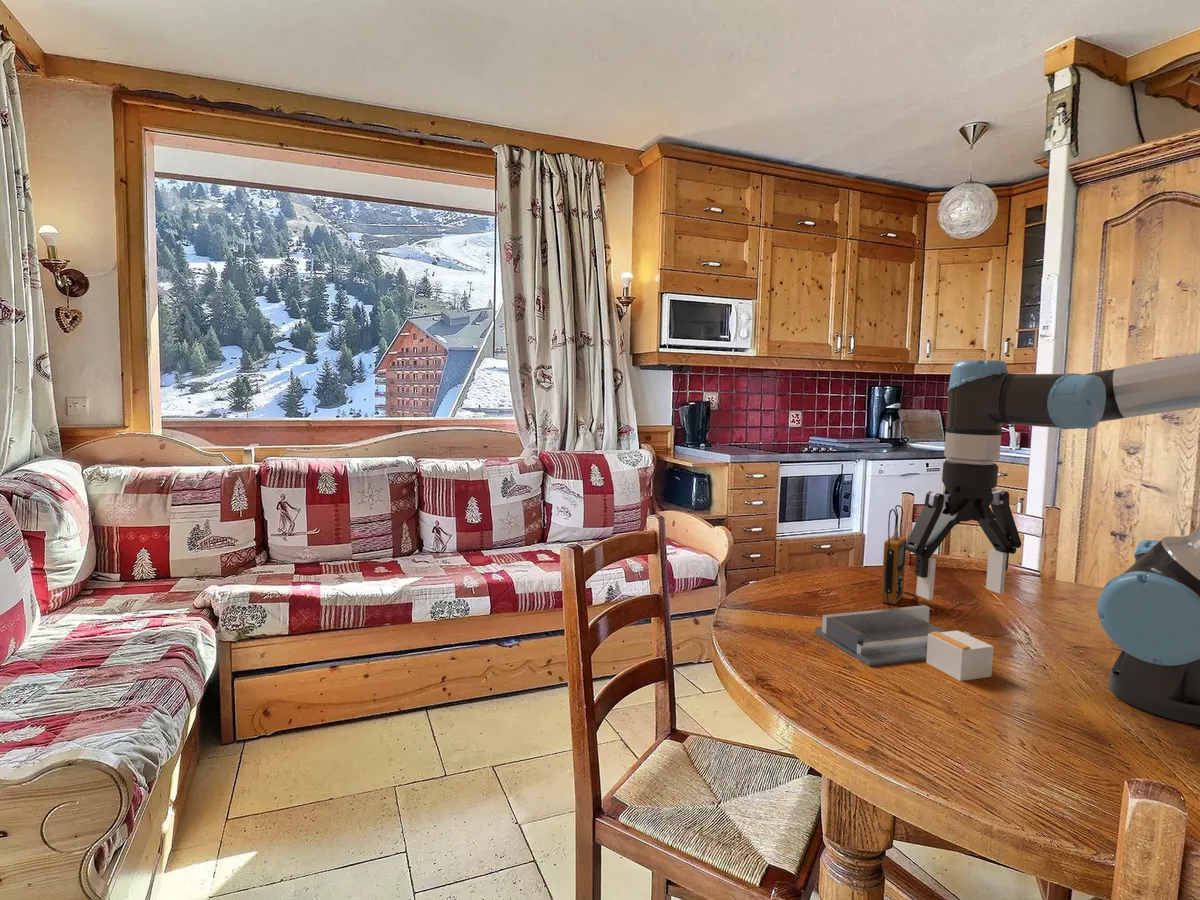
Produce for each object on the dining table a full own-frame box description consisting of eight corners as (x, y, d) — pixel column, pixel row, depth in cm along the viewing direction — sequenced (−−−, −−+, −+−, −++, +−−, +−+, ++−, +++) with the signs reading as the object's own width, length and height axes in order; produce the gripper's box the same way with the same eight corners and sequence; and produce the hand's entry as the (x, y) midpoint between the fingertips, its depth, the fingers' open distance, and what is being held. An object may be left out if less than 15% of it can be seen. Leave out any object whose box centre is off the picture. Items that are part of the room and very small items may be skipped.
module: (991, 677, 104) (993, 644, 104) (960, 681, 102) (962, 648, 102) (956, 659, 111) (958, 628, 110) (926, 663, 109) (928, 632, 109)
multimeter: (929, 618, 130) (935, 517, 128) (875, 607, 136) (880, 510, 134) (944, 599, 141) (950, 506, 139) (894, 590, 147) (899, 501, 145)
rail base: (979, 652, 113) (981, 629, 113) (869, 666, 107) (870, 642, 107) (915, 622, 128) (916, 601, 127) (815, 632, 122) (815, 611, 121)
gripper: (1013, 456, 110) (1002, 581, 113) (886, 459, 103) (877, 592, 106) (1055, 462, 103) (1043, 595, 105) (921, 465, 96) (911, 608, 99)
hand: (959, 594), depth 106 cm, fingers open, 13 cm apart
